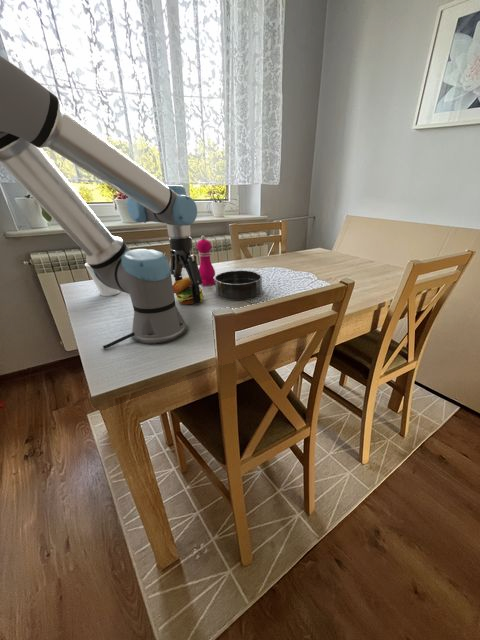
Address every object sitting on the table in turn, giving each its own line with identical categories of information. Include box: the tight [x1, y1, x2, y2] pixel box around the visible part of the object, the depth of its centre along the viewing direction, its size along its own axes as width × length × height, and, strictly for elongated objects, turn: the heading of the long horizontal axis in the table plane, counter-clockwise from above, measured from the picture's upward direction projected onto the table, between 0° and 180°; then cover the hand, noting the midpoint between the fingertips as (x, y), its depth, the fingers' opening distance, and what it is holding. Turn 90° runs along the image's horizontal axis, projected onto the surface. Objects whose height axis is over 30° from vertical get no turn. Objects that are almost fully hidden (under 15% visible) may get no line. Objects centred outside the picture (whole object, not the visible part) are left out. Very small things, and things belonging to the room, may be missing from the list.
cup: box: [84, 262, 120, 297], centre depth 116 cm, size 12×12×12 cm
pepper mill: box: [196, 235, 216, 286], centre depth 124 cm, size 7×7×20 cm
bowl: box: [214, 270, 263, 301], centre depth 117 cm, size 19×19×6 cm
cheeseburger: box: [172, 276, 205, 305], centre depth 109 cm, size 10×11×10 cm
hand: (188, 297), depth 111 cm, fingers closed on cheeseburger, 11 cm apart
